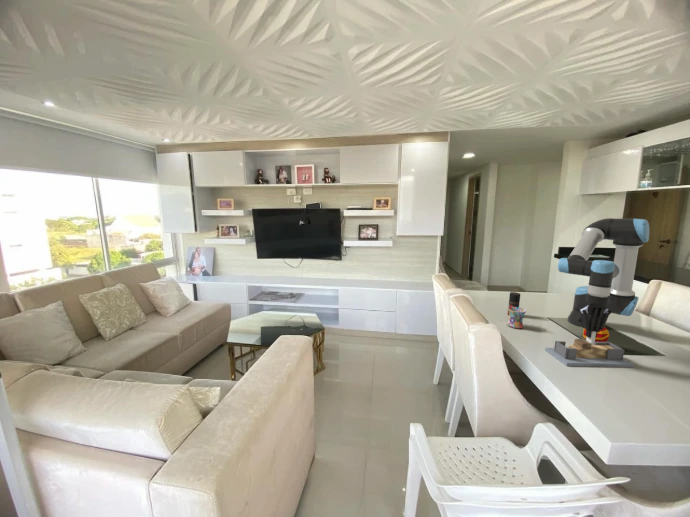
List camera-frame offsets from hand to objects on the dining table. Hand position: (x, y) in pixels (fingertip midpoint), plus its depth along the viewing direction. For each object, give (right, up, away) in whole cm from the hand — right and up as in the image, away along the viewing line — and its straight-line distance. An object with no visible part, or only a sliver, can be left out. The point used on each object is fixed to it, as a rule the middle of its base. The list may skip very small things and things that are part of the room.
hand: (589, 343), depth 128 cm
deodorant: (-3, +2, +55) cm, 55 cm away
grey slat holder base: (0, -7, +1) cm, 7 cm away
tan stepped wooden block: (+2, -6, +1) cm, 6 cm away
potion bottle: (+14, -5, +14) cm, 21 cm away
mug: (-11, -1, +38) cm, 40 cm away
